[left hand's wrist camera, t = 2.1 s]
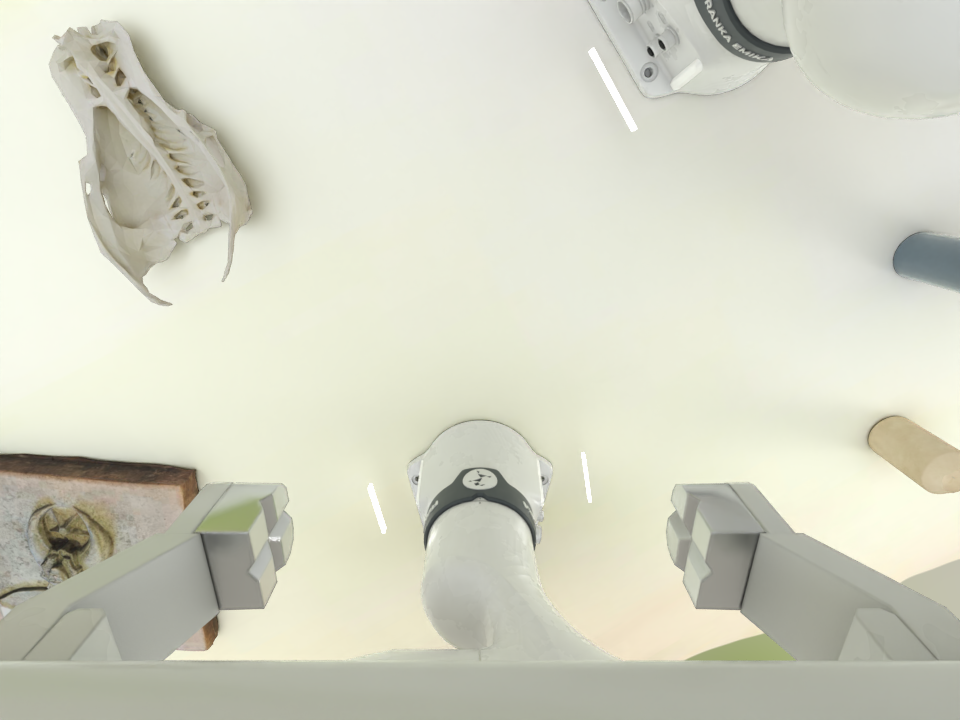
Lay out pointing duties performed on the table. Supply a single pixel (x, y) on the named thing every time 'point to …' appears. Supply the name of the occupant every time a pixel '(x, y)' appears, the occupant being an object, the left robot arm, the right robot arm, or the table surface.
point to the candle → (917, 454)
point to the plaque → (82, 520)
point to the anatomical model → (142, 156)
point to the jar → (930, 260)
